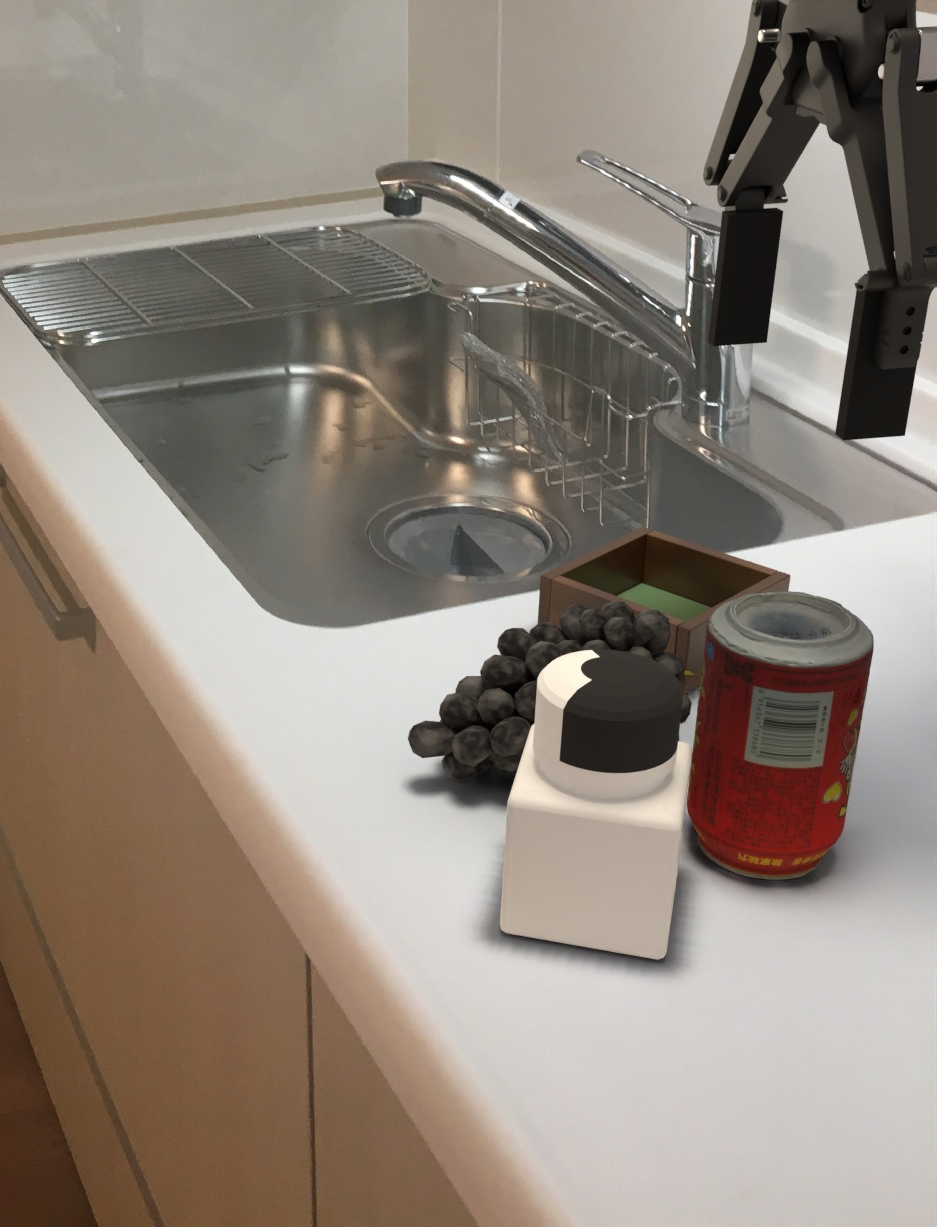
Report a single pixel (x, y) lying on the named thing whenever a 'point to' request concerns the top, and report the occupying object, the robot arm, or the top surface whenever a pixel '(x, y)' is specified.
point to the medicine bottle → (598, 806)
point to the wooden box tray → (658, 586)
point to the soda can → (777, 731)
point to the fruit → (531, 685)
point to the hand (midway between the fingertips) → (798, 386)
